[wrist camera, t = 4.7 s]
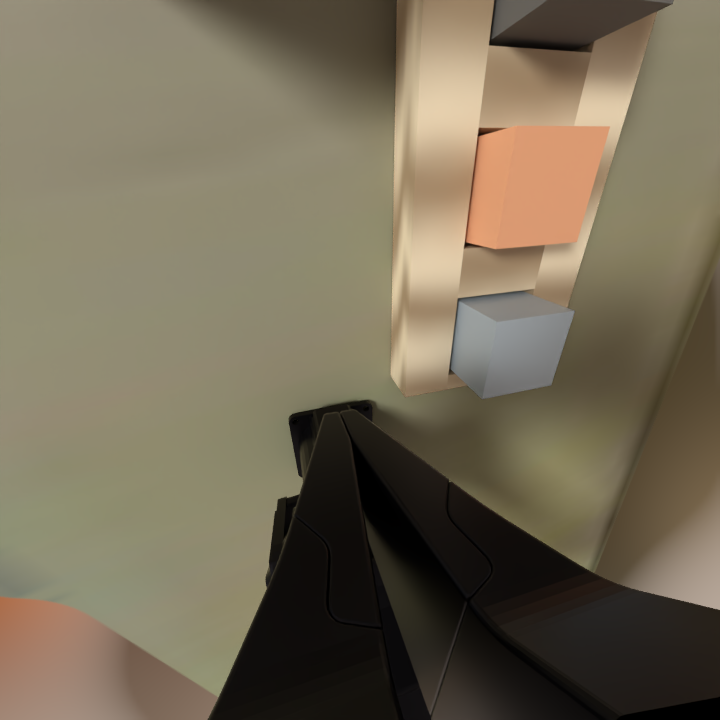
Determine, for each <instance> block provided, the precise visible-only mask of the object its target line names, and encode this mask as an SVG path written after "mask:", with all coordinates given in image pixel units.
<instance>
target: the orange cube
mask: <svg viewBox="0 0 720 720" xmlns="http://www.w3.org/2000/svg"><path fill="white" fill-rule="evenodd" d="M609 129H610V126H513V127H510V128H506V129H503V130H499V131H496V132H492V133H489V134H485V135H482V136H478V137H477V145H476V153H475V161H474V169H473V178H472V186H471V194H470V202H469V210H468V218H467V227H466V235H465V242H467V243H471V244H476V245H480V246H484V247H488V248H493V249H503V248H515V247H526V246H538V245H549V244H561V243H572V242H577V240H578V236H579V233H580V230H581V226H582V223H583V219H584V216H585V212H586V209H587V205H588V202H589V198H590V195H591V191H592V188H593V185H594V181H595V178H596V174H597V171H598V167H599V164H600V160H601V157H602V153H603V150H604V146H605V143H606V140H607V136H608V133H609Z"/></svg>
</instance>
